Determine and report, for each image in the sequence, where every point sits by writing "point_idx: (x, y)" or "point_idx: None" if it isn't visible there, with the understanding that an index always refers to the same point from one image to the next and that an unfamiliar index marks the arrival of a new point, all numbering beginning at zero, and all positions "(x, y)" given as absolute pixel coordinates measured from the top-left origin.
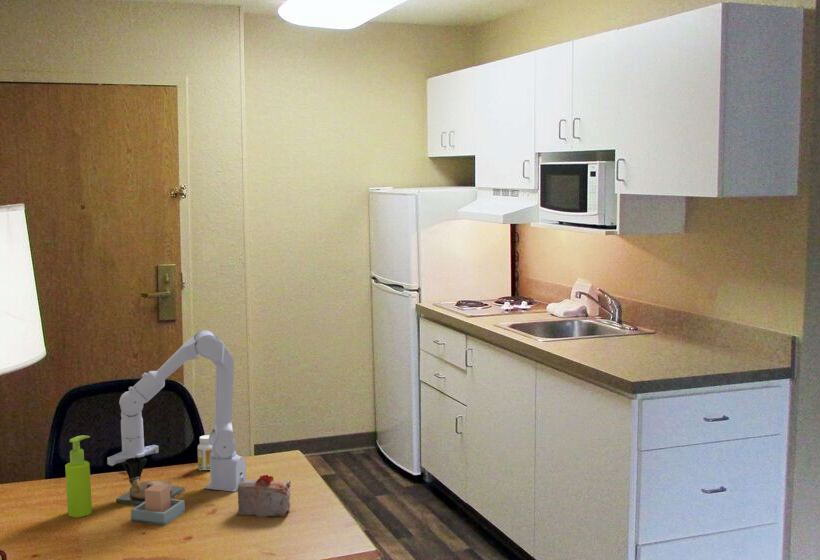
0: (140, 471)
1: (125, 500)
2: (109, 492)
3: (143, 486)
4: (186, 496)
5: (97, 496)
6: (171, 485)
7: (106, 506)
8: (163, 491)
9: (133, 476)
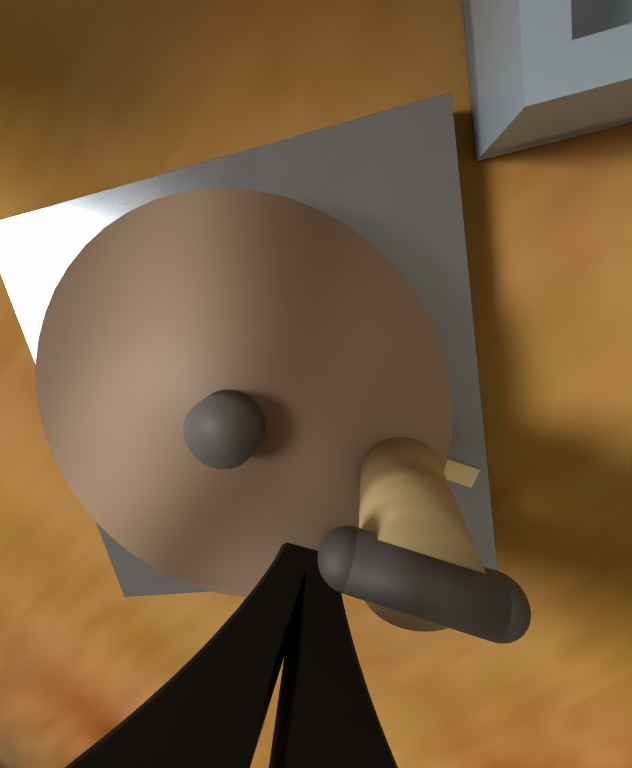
0: (226, 671)
1: (487, 484)
2: None
3: (246, 505)
4: (90, 95)
5: (435, 720)
6: (70, 264)
7: (589, 562)
8: None
9: (357, 663)
